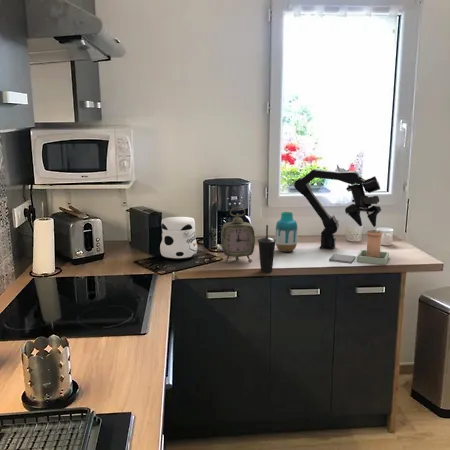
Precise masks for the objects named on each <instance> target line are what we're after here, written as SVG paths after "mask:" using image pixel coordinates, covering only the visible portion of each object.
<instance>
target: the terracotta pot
mask: <svg viewBox="0 0 450 450" xmlns="http://www.w3.org/2000/svg"><path fill="white" fill-rule="evenodd" d="M383 234H384V233H383V231H381V230H375V229H373V230H372V229H370V230H366V235H367V236H366V250H367V252H366V256H365V257H375V258H381V257H380V251H381V248H382V247H381V246H382V245H381V243H382V235H383Z"/></svg>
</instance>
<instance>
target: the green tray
mask: <svg viewBox="0 0 450 450" xmlns="http://www.w3.org/2000/svg"><path fill="white" fill-rule="evenodd" d="M366 252H367V249H360V251H359V252H358V254H357V255H356V262H358V263H367V264H377V265H387V262H388V260H389V257H390V252H388V251H381V250H380V258H375V257H366Z"/></svg>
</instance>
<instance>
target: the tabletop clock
mask: <svg viewBox="0 0 450 450" xmlns="http://www.w3.org/2000/svg"><path fill="white" fill-rule="evenodd" d="M234 210H241V211H244V212H243V213H242V214H239V213H236V214H233V213H232V211H234ZM229 214H230V216H232V217H233V218H232V220H231V221H230V222H229V221H228V222H226V223H223V225H222V227H221V234H220V239H221V240H220V241H221V248H222V250H223V253H224V256H226V259H224V264H228V262H229V257H230V258H231V257H234V258H235V261H239V259H240V257H246V258H247V259H248V260H247V262H248V263H252V259H251V258H250V256H251V255H253V253H254V251H255V246H256V245H255V242H256V237H255V229H254V226H252V224H251V223H249V222H246V221H244V220H243V218H241V217H243V216H244V215H246V209H244V208H243V207H240V206H239V207H238V206H236V207H233V208H231V209H230V211H229Z"/></svg>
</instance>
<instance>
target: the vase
mask: <svg viewBox="0 0 450 450" xmlns="http://www.w3.org/2000/svg"><path fill="white" fill-rule="evenodd" d="M293 216H294V215H293V212H292V211H282V212H281V213H280V219H279V220H277V222H276V224H275V235H274V237H275V238H274V239H276V242H275V247H276V248H277V250H279V251H281V252H284V253H287V252H293V251H295V249H296V247H297V245H298V230H299V229H298V222H297V221H296V220H294V218H293Z"/></svg>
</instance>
